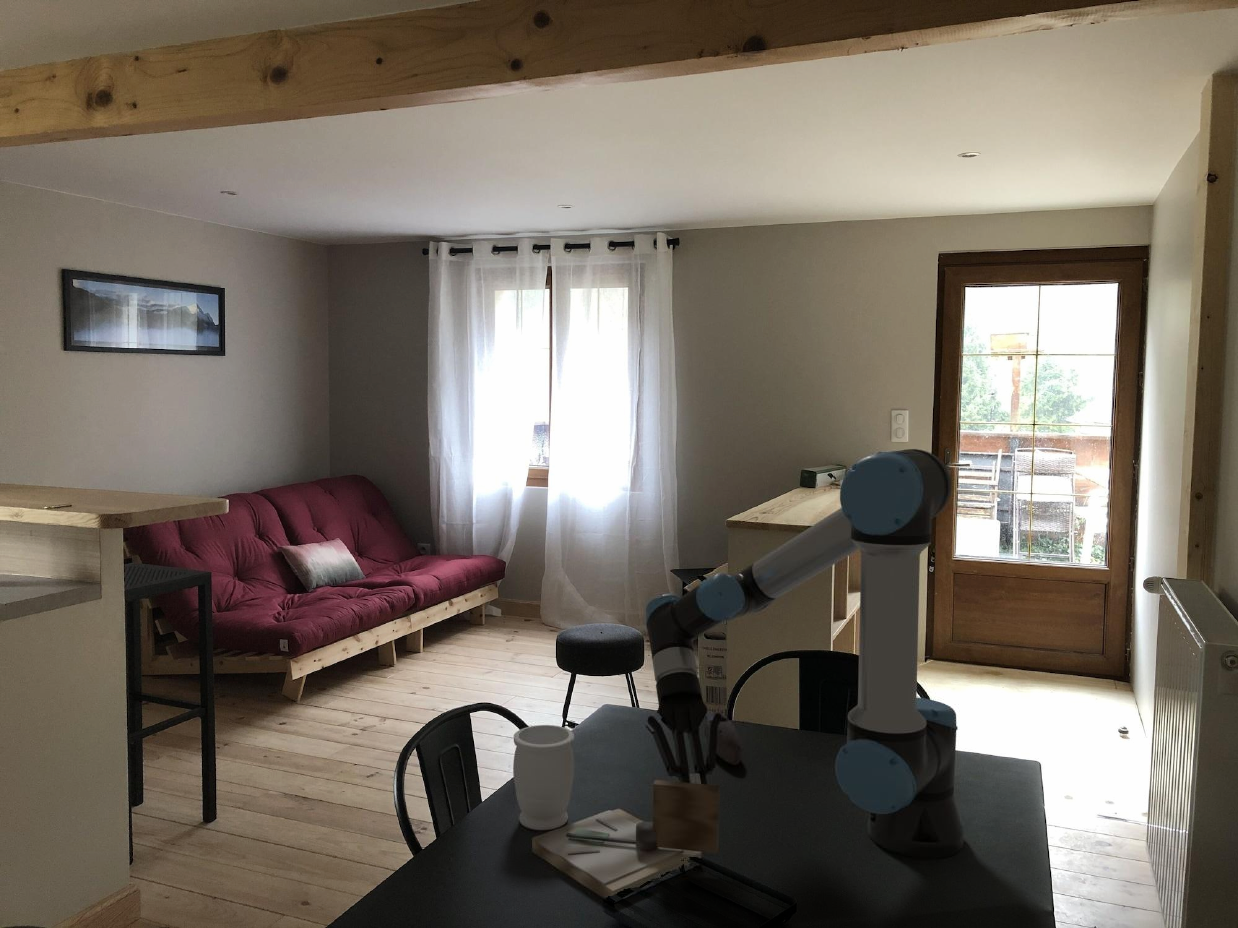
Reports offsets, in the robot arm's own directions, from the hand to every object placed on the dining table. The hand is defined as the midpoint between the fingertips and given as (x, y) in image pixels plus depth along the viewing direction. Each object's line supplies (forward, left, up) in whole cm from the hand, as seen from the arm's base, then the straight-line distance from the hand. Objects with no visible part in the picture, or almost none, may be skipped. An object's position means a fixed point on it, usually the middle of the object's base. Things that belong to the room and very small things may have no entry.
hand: (699, 817), depth 149 cm
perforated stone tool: (+27, -34, -7) cm, 44 cm away
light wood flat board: (+9, +10, -7) cm, 15 cm away
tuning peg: (+6, +7, -4) cm, 10 cm away
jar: (+27, +11, -7) cm, 30 cm away
